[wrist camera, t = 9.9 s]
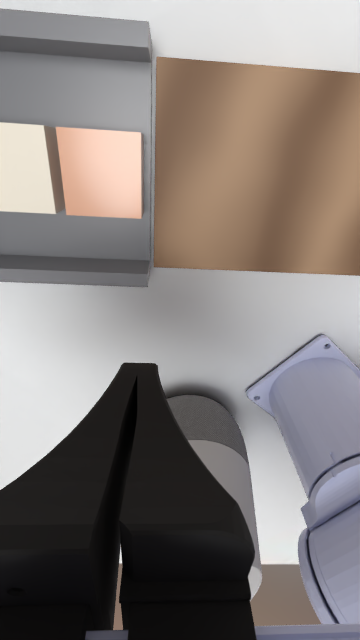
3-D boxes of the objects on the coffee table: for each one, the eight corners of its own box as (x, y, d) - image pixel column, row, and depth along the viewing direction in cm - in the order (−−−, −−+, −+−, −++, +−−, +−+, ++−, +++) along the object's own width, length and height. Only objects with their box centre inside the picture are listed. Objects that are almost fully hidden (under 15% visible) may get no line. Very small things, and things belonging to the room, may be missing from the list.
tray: (151, 43, 15) (148, 21, 12) (149, 270, 20) (147, 287, 18) (-105, 21, 14) (-162, -6, 12) (-33, 263, 20) (-61, 279, 17)
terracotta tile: (143, 134, 16) (140, 132, 14) (143, 212, 18) (141, 218, 16) (68, 129, 16) (55, 126, 14) (76, 208, 18) (66, 215, 16)
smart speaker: (232, 454, 30) (278, 663, 18) (139, 458, 30) (120, 672, 17) (241, 380, 25) (310, 594, 13) (130, 384, 25) (95, 606, 13)
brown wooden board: (460, 89, 16) (486, 83, 15) (386, 269, 21) (401, 277, 20) (157, 64, 15) (156, 56, 14) (154, 259, 20) (153, 267, 19)
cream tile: (57, 128, 16) (43, 125, 14) (66, 207, 18) (55, 213, 16) (-22, 122, 16) (-46, 119, 14) (-3, 204, 18) (-22, 210, 16)
